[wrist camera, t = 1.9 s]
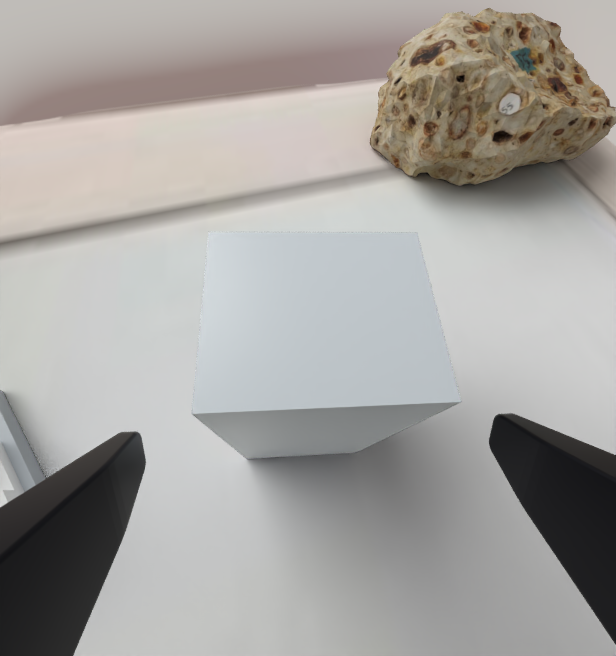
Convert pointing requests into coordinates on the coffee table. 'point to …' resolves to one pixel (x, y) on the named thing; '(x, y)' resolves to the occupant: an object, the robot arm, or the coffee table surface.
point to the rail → (15, 457)
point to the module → (318, 341)
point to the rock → (487, 99)
